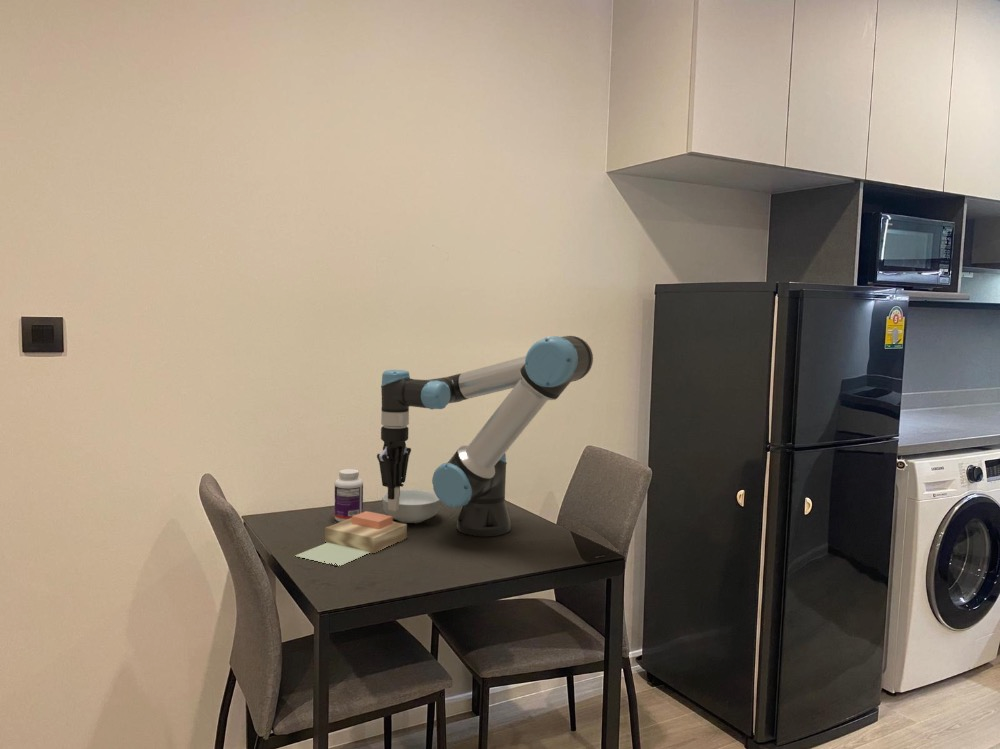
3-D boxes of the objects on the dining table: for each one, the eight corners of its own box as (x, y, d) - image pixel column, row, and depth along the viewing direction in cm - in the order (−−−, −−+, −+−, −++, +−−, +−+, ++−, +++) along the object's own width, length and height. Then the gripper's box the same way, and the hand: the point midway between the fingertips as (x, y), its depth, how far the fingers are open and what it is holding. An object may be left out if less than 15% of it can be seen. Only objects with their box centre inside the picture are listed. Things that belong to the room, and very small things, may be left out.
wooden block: (406, 538, 194) (406, 524, 194) (373, 553, 182) (374, 538, 181) (359, 528, 202) (359, 514, 201) (325, 542, 189) (325, 527, 189)
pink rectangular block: (392, 523, 194) (392, 516, 194) (378, 529, 189) (379, 521, 189) (366, 518, 198) (366, 511, 198) (351, 523, 193) (351, 516, 193)
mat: (370, 553, 182) (370, 552, 182) (338, 567, 172) (338, 566, 172) (327, 543, 189) (327, 542, 189) (294, 556, 178) (294, 555, 178)
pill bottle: (344, 514, 215) (344, 466, 213) (368, 517, 212) (368, 469, 211) (329, 522, 207) (329, 472, 206) (353, 525, 205) (353, 475, 203)
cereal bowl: (385, 530, 201) (386, 505, 200) (378, 513, 217) (378, 490, 216) (445, 526, 206) (446, 502, 205) (434, 510, 222) (434, 487, 221)
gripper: (397, 421, 207) (396, 502, 209) (369, 427, 196) (368, 513, 198) (419, 424, 203) (418, 506, 206) (391, 430, 192) (390, 517, 194)
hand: (393, 509), depth 202 cm, fingers closed
